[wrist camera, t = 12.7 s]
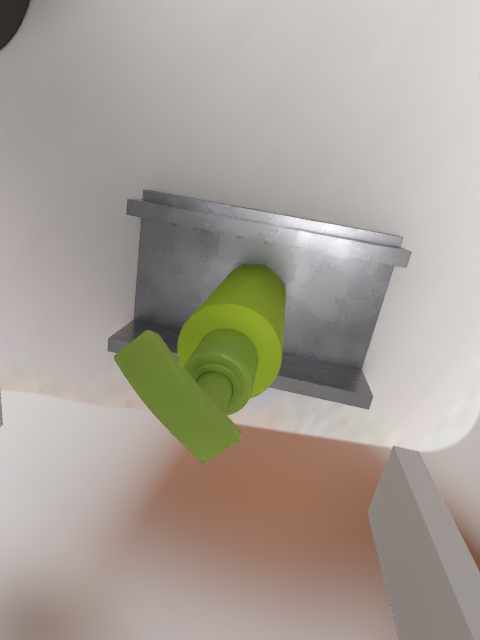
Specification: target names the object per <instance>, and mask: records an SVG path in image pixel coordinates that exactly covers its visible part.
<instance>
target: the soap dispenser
mask: <svg viewBox="0 0 480 640" xmlns="http://www.w3.org/2000/svg"><path fill="white" fill-rule="evenodd" d="M285 305H286V291H285V287H284V284H283V282H282V280H281V279H280V277H279V276H278V275H277V274H276V273H275V272H274V271H273V270H271V269H270V268H268V267H266V266H263V265H259V264H246V265H242V266H240V267H238V268H236V269H234V270H233V271H232V272H231V273H230V274H229V275H228V276H227V277H226V278H225V279H224V280H223V281H222V282H221V284H220V285H219V286H218V287H217V288H216V289H215V290H214V291H213V292H212V293H211V295H210V296H209V297H208V298H207V299H206V300H205V301H204V302H203V303H202V305H201V306H200V307H199V308H198V309H197V310H196V311H195V312H194V313H193V315H192V316H191V317H190V318H189V319H188V320H187V321H186V323H185V324H184V326H183V328H182V330H181V332H180V335H179V338H178V345H177V353H178V359H179V361H178V360H177V359H176V358H175V356H174V355H173V354H172V352H171V351H170V349H169V348H168V347H167V345H166V344H165V342H164V341H163V339H162V338H161V337H160V335H159V334H157V333H155V332H153V331H150V330H146V331H145V332H143V333H142V334H141V335H140V336H138V337H137V338H136V339H134V340H133V341H132V342H131V343H129V344H128V345H127V346H126V347H124V348H123V349H122V350H121V351H120V352H118V353H117V354H116V355H115V356H114V359H115V361H116V362H117V364H118V366H119V367H120V369H121V371H122V372H123V374H124V375H125V377H126V378H127V380H128V381H129V383H130V384H131V386H132V387H133V388H134V390H135V391H136V393H137V394H138V395H139V397H140V398H141V399H142V401H143V402H144V403H145V404H146V406H147V407H148V408H149V409H150V410H151V411H152V413H153V414H154V415H155V416H156V417H157V418H158V419H159V420H160V422H162V424H163V425H164V426H165V427H166V428H167V429H168V430H169V431H170V432H171V433H172V434H173V435H174V436H175V437H176V438H177V439H178V440H179V441H180V442H181V443H182V444H183V445H184V446H185V447H186V448H187V449H188V450H189V451H190V452H191V453H192V454H193V455H195V456H196V457H197V458H198V459H199V460H200V461H201V462H202V463H204V462H206V461H207V460H209V459H211V458H212V457H214V456H216V455H217V454H219V453H221V452H223V451H224V450H226V449H227V448H229V447H231V446H233V445H234V444H236V443H238V442H239V441H240V438H241V433H242V432H241V431H240V430H239V429H238V428H237V426H236V425H235V424H234V423H233V422H232V421H231V420H230V419H229V418H228V417H227V416H226V415H230V414H233V413H235V412H237V411H239V410H240V409H241V408H243V407H244V406H245V404H246V403H247V401H248V400H249V398H252V397H255V396H257V395H259V394H260V393H262V392H263V391H265V390H266V389H267V388H268V387H269V386H270V385H271V384H272V383H273V381H274V380H275V378H276V377H277V375H278V372H279V370H280V367H281V362H282V349H283V334H284V319H285Z"/></svg>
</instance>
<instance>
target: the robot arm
mask: <svg viewBox="0 0 480 640" xmlns="http://www.w3.org/2000/svg"><path fill="white" fill-rule="evenodd" d="M27 3H28V0H0V48H1V47H2V46H3V45H4V44H5V43H6V42H7V41H8V40H9V39H10V37H11V36H12V35H13V33H14V32H15V30H16V29H17V27H18V25H19V23H20V21H21V19H22V17H23V15H24V12H25V9H26V6H27ZM2 425H3V421H2V406H1V393H0V427H1V426H2ZM368 516H369V520H370V524H371V528H372V532H373V536H374V540H375V544H376V549H377V552H378V556H379V560H380V565H381V569H382V573H383V577H384V581H385V585H386V589H387V594H388V598H389V602H390V606H391V610H392V614H393V618H394V622H395V626H396V630H397V634H398V638H399V640H480V572H479V570H478V568H477V566H476V564H475V562H474V560H473V558H472V556H471V554H470V552H469V550H468V548H467V546H466V544H465V542H464V540H463V538H462V536H461V534H460V533H459V530H458V528H457V526H456V524H455V523H454V520H453V519H452V516H451V514H450V513H449V511H448V509H447V507H446V505H445V503H444V501H443V499H442V497H441V495H440V493H439V491H438V489H437V487H436V485H435V483H434V481H433V479H432V477H431V475H430V473H429V471H428V469H427V467H426V465H425V463H424V461H423V459H422V457H421V455H420V453H419V452H418V451H414V450H409V449H405V448H400V447H396V446H393V449H392V451H391V454H390V456H389V459H388V461H387V464H386V466H385V469H384V472H383V475H382V477H381V479H380V482H379V485H378V487H377V490H376V492H375V495H374V497H373V500H372V502H371V505H370V508H369V510H368Z"/></svg>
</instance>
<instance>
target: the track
mask: <svg viewBox="0 0 480 640" xmlns="http://www.w3.org/2000/svg"><path fill="white" fill-rule="evenodd" d="M127 215H131V216H137V217H141V230H140V243H139V257H138V270H137V283H136V297H135V310H134V320H133V321H131V322H130V323H129V324H127V325H126V326H125V327H123V328H122V329H120V330H119V331H118V332H116V333H115V334H113V335H112V336H111V337H109V338H108V351H110V352H114V353H118V352H120V351H121V350H122V349H123V348H124V347H126V346H127V345H128V344H129V343H131V342H132V341H133V340H134V339H136V338H137V337H138V336H140V335H141V334H142V333H143V332H145V331H146V330H150V331H153V332H155V333H157V334H159V335H160V337H161V338H162V339H163V341H164V342H165V344H166V345H167V347H168V348H169V349H170V351H171V352H172V354H173V355H174V356H175V358H176V359H177V360H178V361H179V359H178V353H177V345H178V338H179V335H180V332H181V330H182V328H183V326H184V324H185V323H186V321H187V320H188V319H189V318H190V317H191V316H192V315H193V313H194V312H195V311H196V310H197V309H198V308H199V307H200V306H201V305H202V303H203V302H204V301H205V300H206V299H207V298H208V297H209V296H210V295H211V293H212V292H213V291H214V290H215V289H216V288H217V287H218V286H219V285H220V284H221V282H222V281H223V280H224V279H225V278H226V277H227V276H228V275H229V274H230V273H231V272H232V271H233V270H234V269H236V268H238V267H240V266H242V265H246V264H259V265H263V266H266V267H268V268H270V269H271V270H273V271H274V272H275V273H276V274H277V275H278V276H279V277H280V279H281V280H282V282H283V284H284V287H285V291H286V305H285V319H284V334H283V349H282V362H281V367H280V370H279V372H278V375H277V377H276V378H275V380H274V381H273V383H272V384H271V385H270V386H269V387H271V388H275V389H280V390H284V391H289V392H293V393H297V394H302V395H306V396H311V397H315V398H320V399H324V400H329V401H333V402H338V403H342V404H347V405H351V406H356V407H360V408H365V409H369V407H370V404H371V401H372V398H373V395H372V393H371V390H370V388H369V385H368V383H367V381H366V378H365V376H364V374H363V371H362V366H363V363H364V359H365V356H366V353H367V350H368V347H369V344H370V340H371V337H372V334H373V331H374V328H375V325H376V322H377V318H378V315H379V312H380V309H381V306H382V303H383V299H384V296H385V293H386V290H387V287H388V284H389V281H390V277H391V274H392V271H393V268H394V266H400V267H405V268H406V267H407V264H408V261H409V258H410V255H411V251H408V250H406V249H403V248H401V247H400V246H401V243H402V239H403V237H400V236H395V235H389V234H384V233H379V232H373V231H368V230H362V229H357V228H351V227H346V226H340V225H335V224H329V223H324V222H319V221H313V220H308V219H302V218H297V217H291V216H286V215H280V214H275V213H269V212H264V211H259V210H253V209H248V208H242V207H237V206H231V205H226V204H220V203H215V202H209V201H204V200H199V199H193V198H188V197H182V196H177V195H171V194H166V193H160V192H155V191H149V190H143V199H127Z"/></svg>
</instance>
